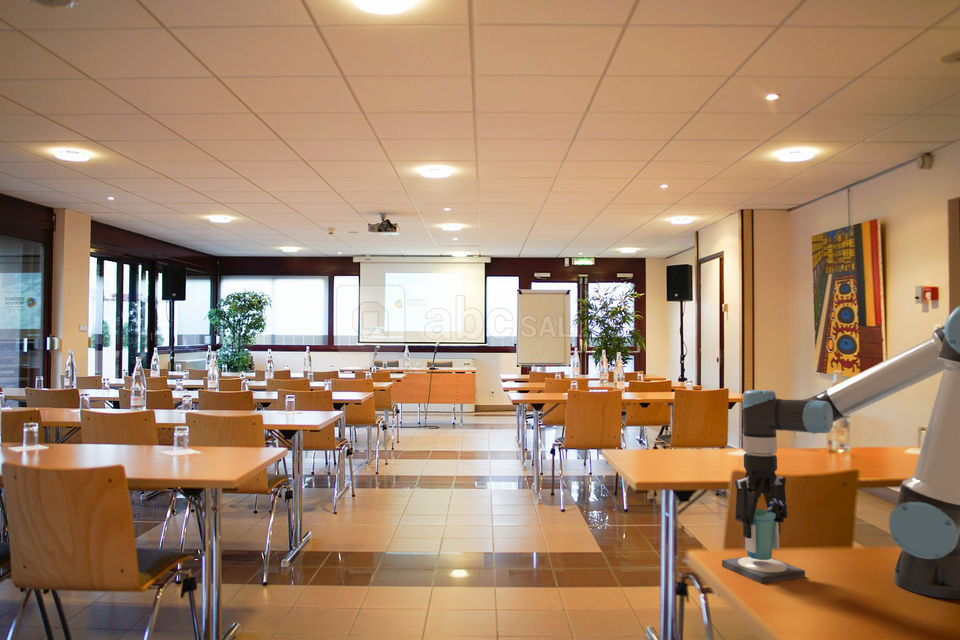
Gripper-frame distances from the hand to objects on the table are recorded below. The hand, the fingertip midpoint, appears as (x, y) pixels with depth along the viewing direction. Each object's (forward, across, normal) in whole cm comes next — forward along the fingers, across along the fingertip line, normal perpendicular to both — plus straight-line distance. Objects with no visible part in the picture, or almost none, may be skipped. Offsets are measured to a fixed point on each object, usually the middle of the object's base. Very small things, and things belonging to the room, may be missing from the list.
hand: (762, 549), depth 157 cm
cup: (+2, 0, 0) cm, 2 cm away
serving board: (+5, 0, 0) cm, 5 cm away
